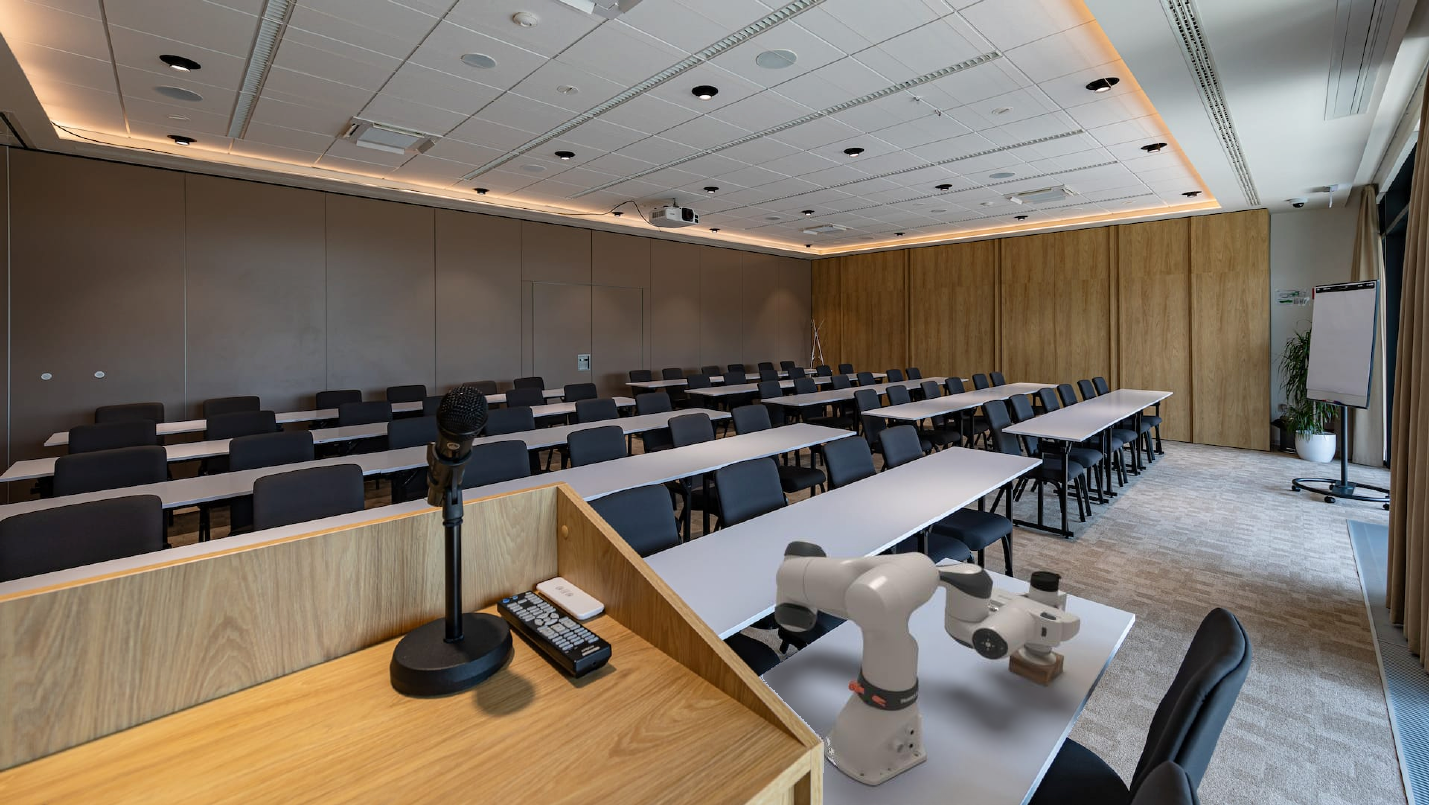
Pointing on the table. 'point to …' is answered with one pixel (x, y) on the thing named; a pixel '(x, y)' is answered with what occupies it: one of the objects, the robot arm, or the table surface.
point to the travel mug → (1043, 601)
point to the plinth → (1036, 665)
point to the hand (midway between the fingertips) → (1043, 601)
